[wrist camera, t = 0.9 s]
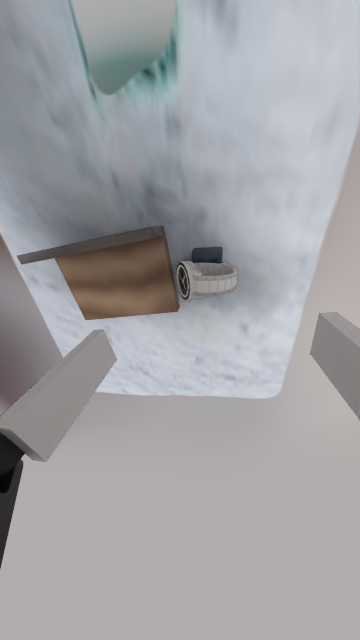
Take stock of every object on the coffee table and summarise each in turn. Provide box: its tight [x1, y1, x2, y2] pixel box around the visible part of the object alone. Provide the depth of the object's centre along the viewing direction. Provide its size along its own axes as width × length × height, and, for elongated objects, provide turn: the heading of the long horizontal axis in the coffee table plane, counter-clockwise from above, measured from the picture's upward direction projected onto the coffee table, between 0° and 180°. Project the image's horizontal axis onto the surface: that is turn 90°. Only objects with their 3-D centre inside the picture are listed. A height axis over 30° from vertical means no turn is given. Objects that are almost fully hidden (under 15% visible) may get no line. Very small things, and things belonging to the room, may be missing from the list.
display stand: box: [17, 226, 179, 320], centre depth 29 cm, size 14×20×8 cm
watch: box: [176, 247, 238, 302], centre depth 24 cm, size 6×8×11 cm
